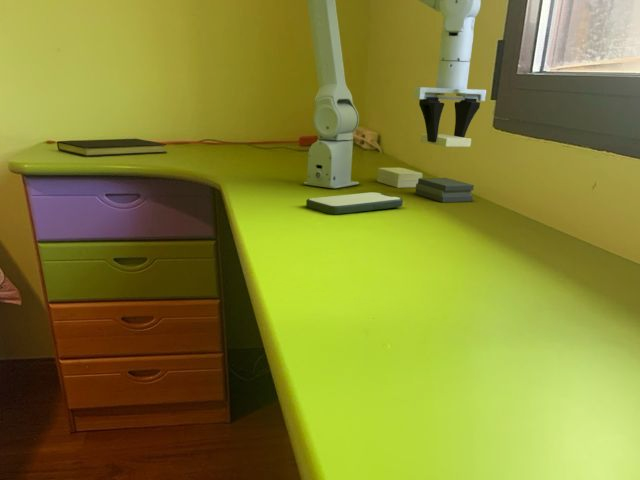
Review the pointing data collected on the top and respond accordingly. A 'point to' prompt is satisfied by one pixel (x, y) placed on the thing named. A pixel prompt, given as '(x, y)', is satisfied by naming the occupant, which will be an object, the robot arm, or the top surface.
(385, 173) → the cream rectangular block
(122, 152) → the hardcover book
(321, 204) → the phone case
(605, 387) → the top surface
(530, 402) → the top surface
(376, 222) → the top surface
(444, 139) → the cream booklet
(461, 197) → the grey book stack
